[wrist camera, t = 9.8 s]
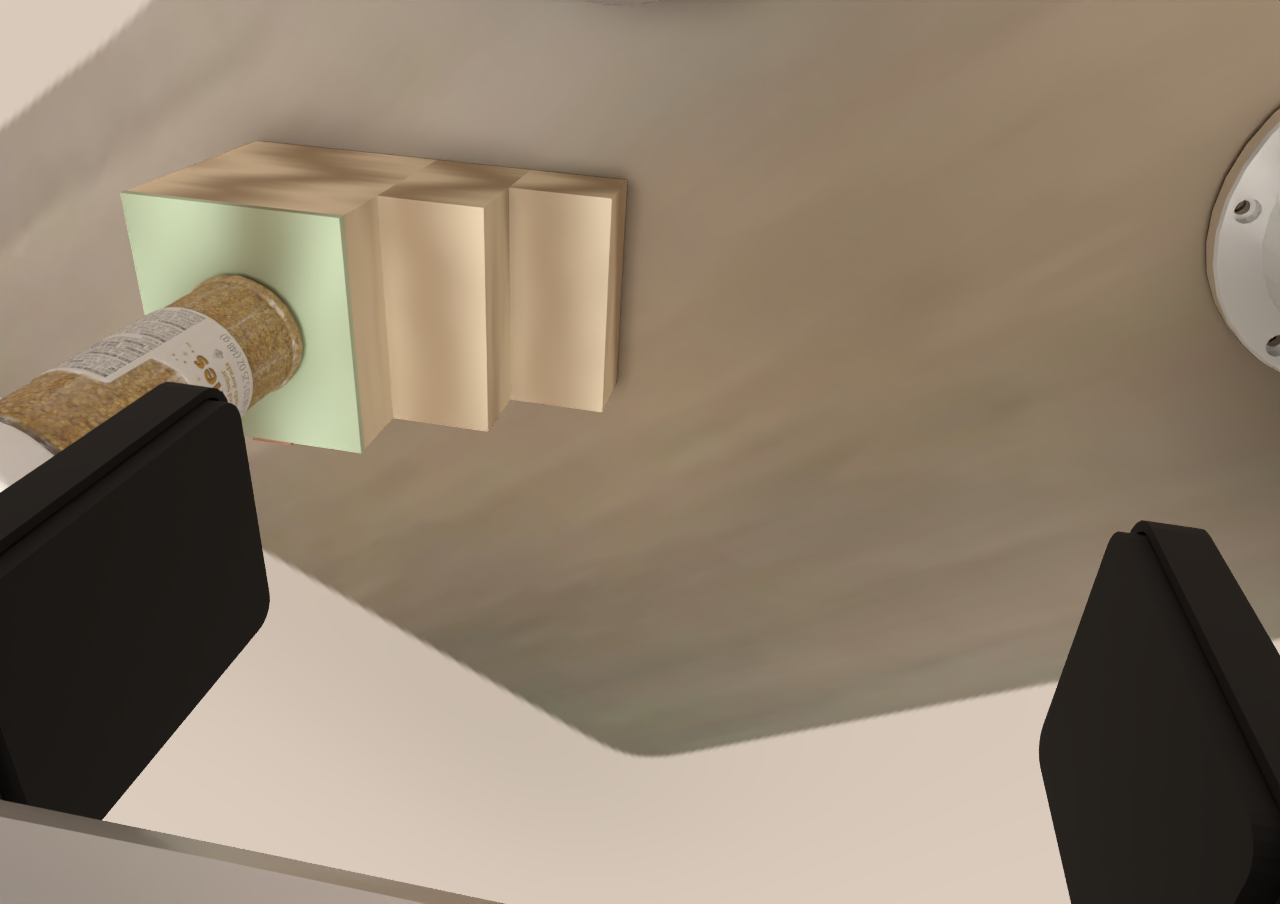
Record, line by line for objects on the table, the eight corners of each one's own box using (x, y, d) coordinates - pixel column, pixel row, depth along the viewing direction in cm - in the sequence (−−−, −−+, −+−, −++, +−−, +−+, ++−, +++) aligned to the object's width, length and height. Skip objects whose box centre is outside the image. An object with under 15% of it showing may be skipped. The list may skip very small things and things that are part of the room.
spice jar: (316, 392, 36) (60, 620, 24) (203, 382, 37) (-96, 599, 25) (294, 273, 34) (3, 460, 22) (175, 264, 34) (-168, 443, 23)
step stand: (627, 179, 39) (573, 245, 31) (616, 392, 44) (566, 495, 36) (256, 140, 41) (119, 192, 33) (283, 347, 46) (169, 435, 38)
